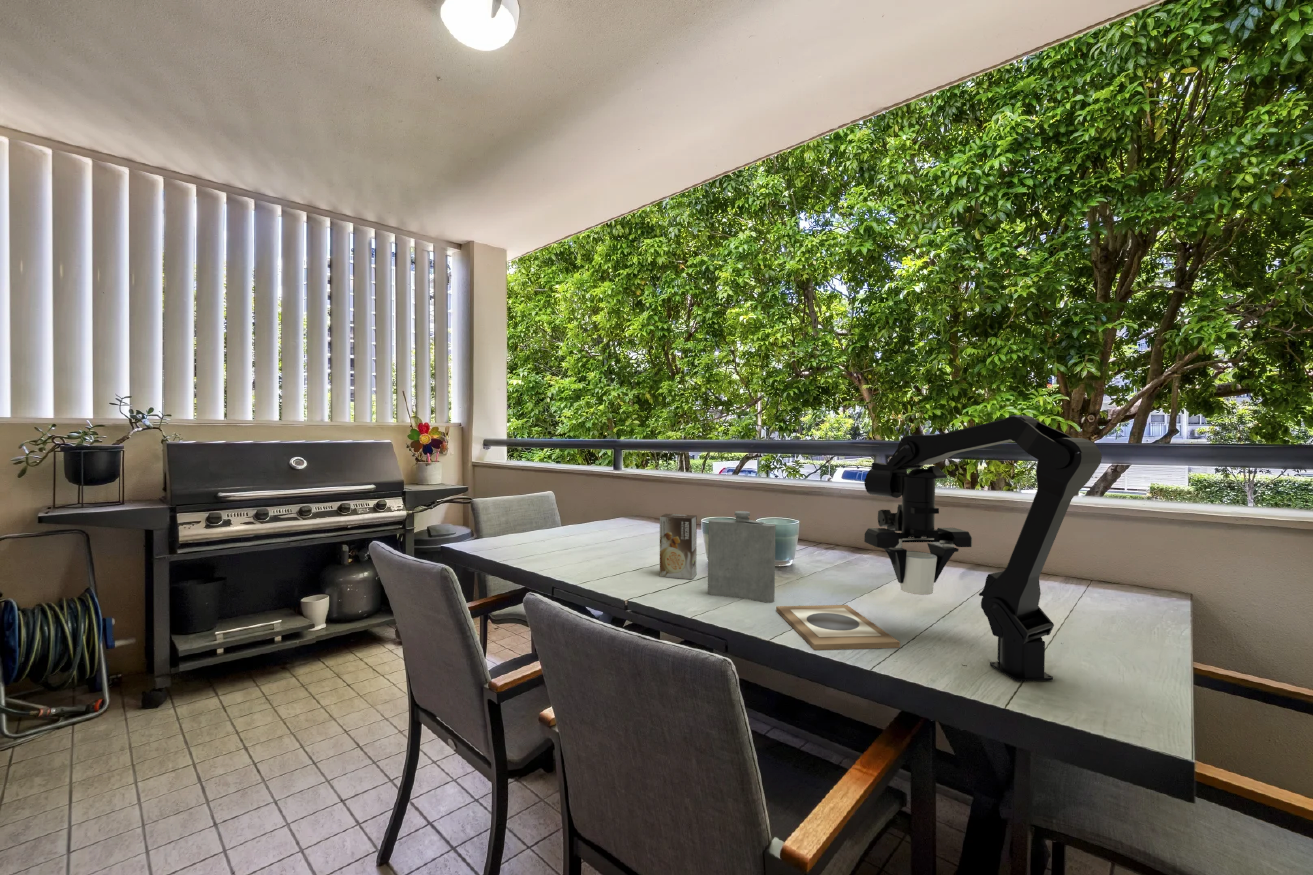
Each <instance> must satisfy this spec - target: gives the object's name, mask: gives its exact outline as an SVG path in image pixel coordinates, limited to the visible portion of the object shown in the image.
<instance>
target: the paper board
mask: <svg viewBox="0 0 1313 875" xmlns="http://www.w3.org/2000/svg"><path fill="white" fill-rule="evenodd" d="M775 612H777V614H779V615H780V616H781V618H783V620H785V622H786V623H787V624H789V626H790V627H792V629H793V630H794V631H795V632H796V633H797V634H798V635H799V636H800V637H801V638H802V639H803V640H804V641H805V642H806V643H807V644H808V645H809V646H810V647H811V648H812V649H813V651H824V650H825V651H826V650H827V651H828V650H829V651H830V650H857V649H858V650H861V649H865V650H866V649H892V648H893V649H895V648H899V649H900V648H901V642H900V641H899V640H897V638H895V637H894V636H892V635H891V634H890V633H888V632H886V631H885V630H883V629H882V628H881V627H880V626H878V625H877V624H875V623H873V622H872V621H871V620H870V619H868V618H867V617H865V615H864V616H863V615H862V614H860V613H859V612H858V611H857V610H855V609H854V608H852V607H851V606H849V605H848V604H829V605H828V604H827V605H825V604H823V605H818V604H817V605H777V606H775Z"/></svg>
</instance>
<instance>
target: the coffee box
mask: <svg viewBox="0 0 1313 875" xmlns="http://www.w3.org/2000/svg"><path fill="white" fill-rule="evenodd" d="M697 518H698V516H697V515H694V514H678V513H677V514H676V513H664V514H662V515H661V516H659V577H660V578H671V579H672V578H673V579H674V578H675V579H686V580H693V579H694V578H695V577H696V576H697V574H698V573H697V569H698V568H697V554H698V553H697V547H698V546H697V538H698V537H697V523H698V522H697V521H698V520H697Z"/></svg>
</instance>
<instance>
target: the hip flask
mask: <svg viewBox="0 0 1313 875" xmlns="http://www.w3.org/2000/svg"><path fill="white" fill-rule="evenodd" d="M734 516H735V520H730V519H715V518H714V519H708V537H707V538H708V543H707V550H708V552H707V560H708V561H707V595H709V596H715V597H726V598H728V597H729V598H733V599H734V598H736V599H742V600H743V599H744V600H749V601H756V602H761V603H767V604H770V603H774V602H775V585H776V584H775V580H776V576H775V575H776V528H777V527H776V526H777V525H776V524H775V523H767V522H764V521H758V520H752V519H750V516H751V512H750V511H746V510H745V511H744V510H737V511H734Z"/></svg>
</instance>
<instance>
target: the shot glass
mask: <svg viewBox="0 0 1313 875" xmlns="http://www.w3.org/2000/svg"><path fill="white" fill-rule="evenodd" d="M936 562H937V556H936V555H934V554H930V552H924V551H917V550H916V551H915V550H907V554H906V565H905V576H904V581H903V583H899V585H900V590H901V591H902V592H903V593H906V594H911V595H919V596H924V595H925V596H928V595H932V594H934V593H933V592H934V587H935V586H934V585H935V583H934V578H935V570H936Z"/></svg>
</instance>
